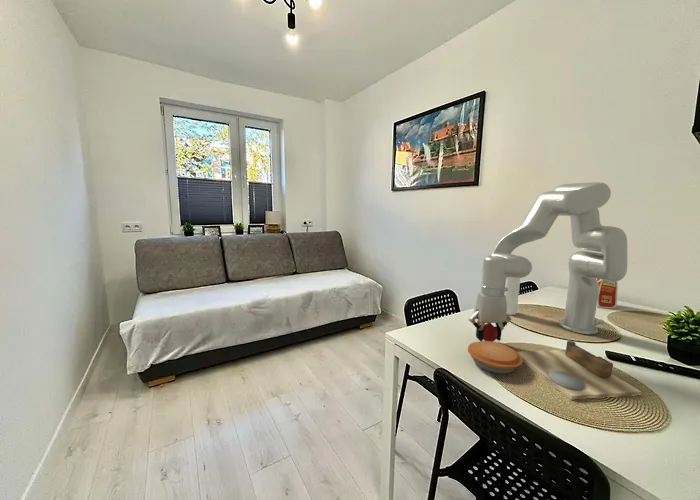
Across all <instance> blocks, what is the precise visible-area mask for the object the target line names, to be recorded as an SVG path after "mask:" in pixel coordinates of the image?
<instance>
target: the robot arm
mask: <svg viewBox="0 0 700 500" xmlns="http://www.w3.org/2000/svg"><path fill="white" fill-rule="evenodd" d="M611 193H612V190H611V188H610V186H609V185H608V184H606V183H604V182H599V181H597V182H593V181H592V182H577V183H576V182H574V183H565V184H561V185H558V186H556V187H555V188H554V189H553V190H549V191H544V192H542V193H540V194H539V195H538V196H537V197H536V199H535V201H534V203H533V204H532V206H531V208H530V210H529V211H528V213H527V215H525V218H524V219H523V221H522V223H521V224H520V226H518V227H516V228H515V229H513V230H512V231H510V232H509V233H507V235H505V236H504V237H502V238H501V239H499V242H498V243H497V244H496V245H495V247H494V249H493V251H492V253H491V255H486V256H485V257H484V258H483V263H482V273H481V285H480V287H481V288H480V292H479V293H477V296H476V298H475V299H476V300H475V304H474V310H473V314H472V315H471V316H470V317H469V318H468V321H469V322H470V323H471V324H472V325H473V326H474V327H475V328H476V329H475V330H476V331H475V337H476V339H477V340H479V342H480V341H484V340H483V333H484V331H483V330H482V329H483V327H484V325H485V324H487V323H491V324H495V325H494V327H495V328H496V329H497V332H498V336H497V339H496V340H497V341H501V337H502V331H503V330H504V329H505V327H506V326H507V325H508V323H510V322H511V321H512V318H511V317H510V315H508V314H507V301H506V296H505V292H506V291H508V288H505V285H506V278H507V277H513V278H520V279H522V278H525V277H527V276H529V275H530V273H531V272H532V270H533V265H532V262H531V261H530V260H529V259H528V258H526V257H524V256H520V255H515V254H512V252H513V251H515V250H516V249H517V248H519V247H521V246H522V245H525V244H527V243H531V242H534V241H538V240H542V239H544V238H546V236H547V235H548V233H549V232H550V230H551V228H552V226H553V224H554V223H555V221H556V220H557V218H558V217H559V216H566V217H570V228H571V239H572V240H571V241H572V244H573V246H574V247H575V248H577V249H580V251H575V252H574V253H572V254H570V257H569V259H568V274H569V275H568V276H569V277H568V278H569V279H568V287H567V292H566V293H567V294H566V301H565V309H564V316H563V319H560V320H558V326H560V327H561V328H562V329H564V330H567V331H569V332H573V333H575V334H582V335H596V334H598V332H599V329H598V327H596V326H597V325H604V324H605V320H604V319H602V318H601V319H596V311H597V307H596V306H597V300H598V294H599V285H598V282H597V280H596V278H598V279H602V280H607V281H617V282H619V281H622V280H623V279H624V278H625V276H626V274H627V272H628V238H627V234H626V233H625V231H624V230H623V229H621V228H619V227H616V226H612V225H611V226H609V225H602V223H601V215H600V211H599V208H601V207H603V206H604V205H606V204H607V203H608V202H609V200H610V198H611V195H612V194H611ZM476 320H477V321H476Z"/></svg>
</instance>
